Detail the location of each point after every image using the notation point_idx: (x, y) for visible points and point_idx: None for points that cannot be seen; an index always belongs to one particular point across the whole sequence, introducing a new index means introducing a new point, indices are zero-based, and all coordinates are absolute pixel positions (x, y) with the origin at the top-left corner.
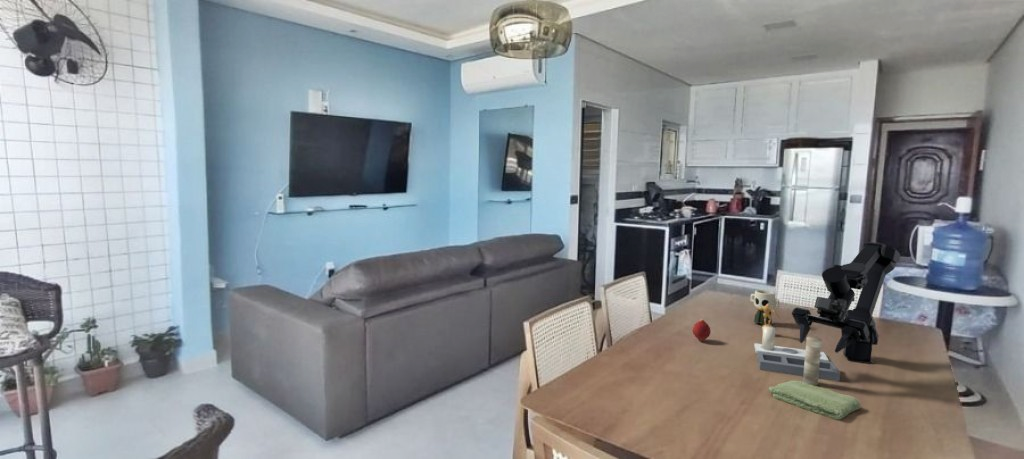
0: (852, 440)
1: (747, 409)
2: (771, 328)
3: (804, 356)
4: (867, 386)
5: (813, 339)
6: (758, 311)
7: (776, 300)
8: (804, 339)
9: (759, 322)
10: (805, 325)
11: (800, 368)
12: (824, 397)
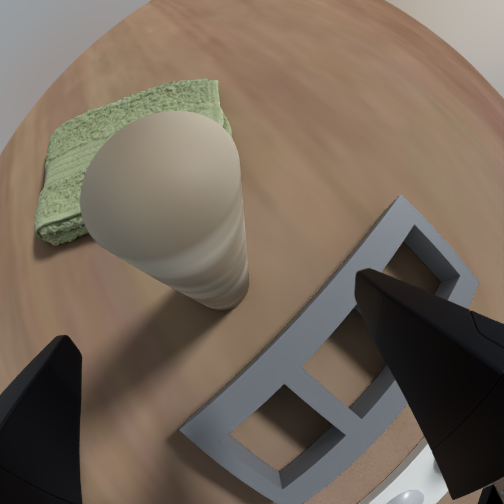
0: (38, 117)
1: (191, 37)
2: None
3: (406, 472)
4: (125, 456)
5: (139, 141)
6: None
7: None
8: (377, 345)
9: None
10: (499, 392)
11: (302, 312)
12: (87, 145)
